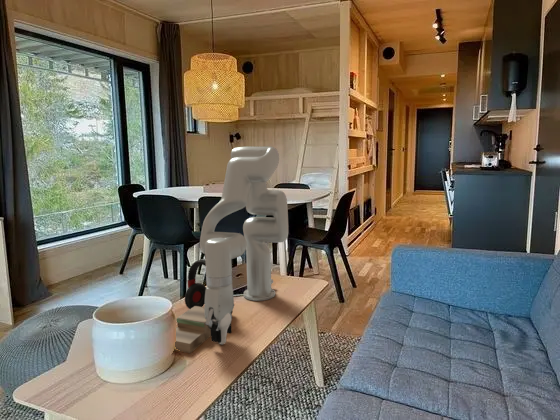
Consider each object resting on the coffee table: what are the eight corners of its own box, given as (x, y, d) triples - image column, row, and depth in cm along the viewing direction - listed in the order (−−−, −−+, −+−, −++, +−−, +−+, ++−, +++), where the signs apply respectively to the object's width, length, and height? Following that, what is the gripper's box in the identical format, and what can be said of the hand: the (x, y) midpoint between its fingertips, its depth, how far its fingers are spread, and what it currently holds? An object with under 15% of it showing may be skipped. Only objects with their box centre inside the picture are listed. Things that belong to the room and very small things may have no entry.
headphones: (235, 314, 145) (233, 260, 141) (215, 324, 137) (213, 267, 134) (201, 303, 155) (199, 252, 152) (181, 312, 147) (178, 259, 144)
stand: (195, 322, 139) (194, 305, 138) (221, 327, 135) (220, 310, 134) (162, 347, 122) (160, 328, 121) (190, 353, 119) (189, 334, 118)
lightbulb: (215, 351, 120) (214, 315, 118) (209, 342, 125) (207, 308, 123) (235, 346, 122) (233, 311, 121) (227, 337, 128) (226, 304, 126)
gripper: (222, 270, 129) (224, 323, 132) (191, 288, 114) (195, 348, 117) (243, 272, 127) (245, 327, 130) (215, 291, 111) (217, 353, 114)
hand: (221, 336), depth 123 cm, fingers closed on lightbulb, 5 cm apart
